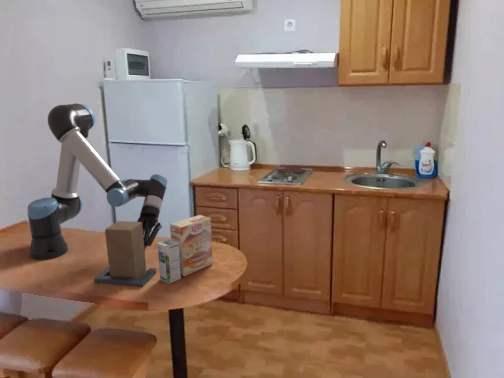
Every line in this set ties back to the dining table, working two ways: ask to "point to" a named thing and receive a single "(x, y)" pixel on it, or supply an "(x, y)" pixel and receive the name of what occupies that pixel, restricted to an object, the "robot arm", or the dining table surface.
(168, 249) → the syrup box
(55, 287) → the dining table surface
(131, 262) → the wooden block
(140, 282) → the dock
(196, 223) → the coffeecake box
